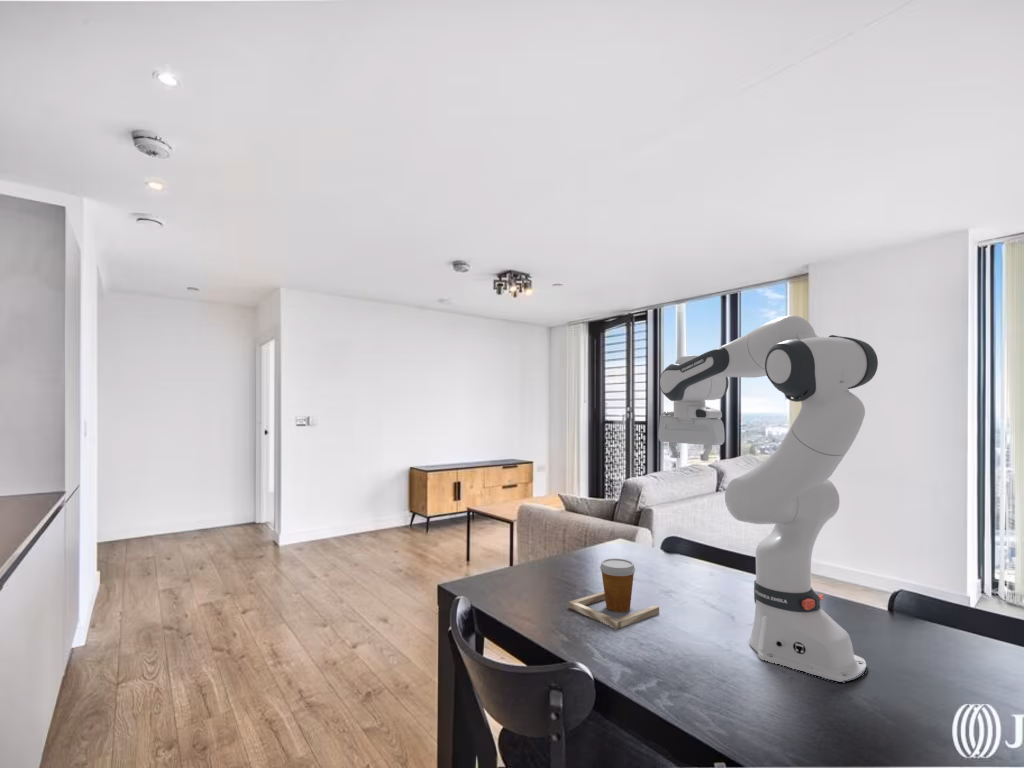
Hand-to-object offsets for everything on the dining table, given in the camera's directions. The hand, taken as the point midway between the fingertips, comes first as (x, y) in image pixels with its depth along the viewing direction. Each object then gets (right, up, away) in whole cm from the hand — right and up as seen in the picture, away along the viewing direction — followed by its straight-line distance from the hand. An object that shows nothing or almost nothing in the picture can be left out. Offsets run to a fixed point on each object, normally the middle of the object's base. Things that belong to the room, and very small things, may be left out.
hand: (689, 459), depth 152 cm
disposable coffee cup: (-23, -39, -11) cm, 46 cm away
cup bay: (-24, -39, -12) cm, 47 cm away
